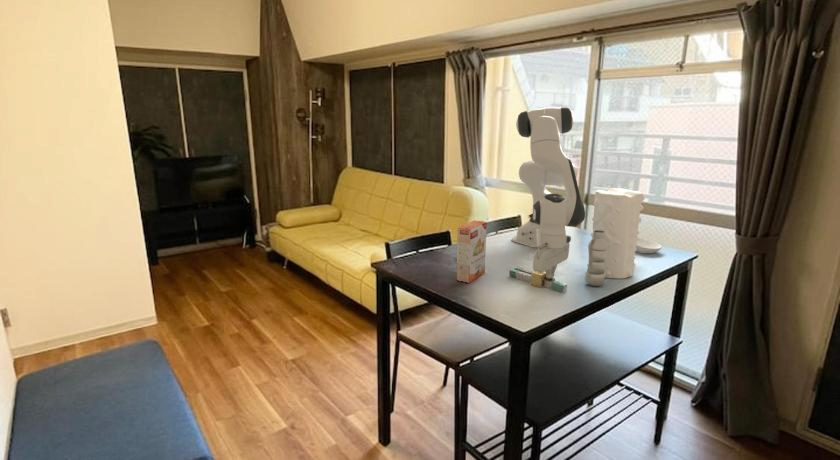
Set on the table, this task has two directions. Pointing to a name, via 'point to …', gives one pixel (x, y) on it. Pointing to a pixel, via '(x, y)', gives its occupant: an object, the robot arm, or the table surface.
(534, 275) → the lock collar
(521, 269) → the tong arm
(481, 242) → the cracker box
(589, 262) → the plastic bottle
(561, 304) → the table surface
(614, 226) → the white bumpy sculpture
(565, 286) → the green-tipped wooden stick
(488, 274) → the table surface
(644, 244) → the spoon rest
